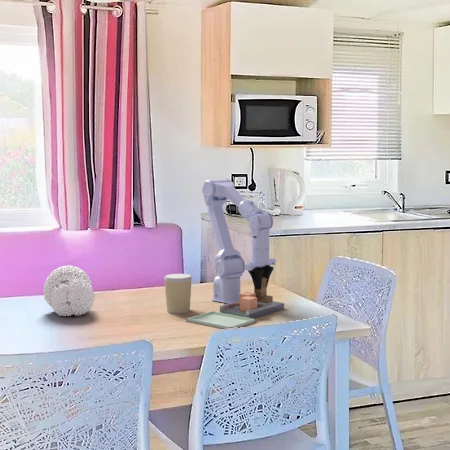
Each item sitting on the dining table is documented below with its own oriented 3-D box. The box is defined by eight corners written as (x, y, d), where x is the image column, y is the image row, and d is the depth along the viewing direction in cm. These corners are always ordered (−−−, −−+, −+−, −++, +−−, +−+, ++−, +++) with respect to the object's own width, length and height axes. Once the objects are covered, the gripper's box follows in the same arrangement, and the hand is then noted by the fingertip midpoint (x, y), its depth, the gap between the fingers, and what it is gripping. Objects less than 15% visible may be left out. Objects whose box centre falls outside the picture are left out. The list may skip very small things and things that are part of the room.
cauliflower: (28, 286, 254) (57, 249, 251) (67, 302, 266) (95, 267, 263) (44, 323, 240) (75, 284, 237) (86, 338, 251) (115, 301, 249)
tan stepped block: (248, 300, 257) (248, 277, 256) (253, 298, 259) (253, 276, 258) (267, 303, 252) (267, 280, 251) (272, 302, 254) (272, 278, 253)
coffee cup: (196, 308, 257) (195, 274, 256) (186, 314, 249) (185, 279, 247) (171, 306, 260) (170, 272, 259) (160, 312, 252) (159, 277, 250)
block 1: (239, 305, 253) (239, 293, 252) (246, 303, 256) (246, 291, 255) (248, 307, 250) (248, 295, 250) (255, 304, 253) (255, 293, 253)
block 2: (240, 310, 246) (240, 298, 246) (247, 307, 249) (247, 296, 249) (249, 311, 244) (249, 299, 243) (257, 309, 247) (257, 297, 246)
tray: (186, 321, 240) (186, 318, 240) (212, 313, 250) (212, 310, 250) (230, 330, 229) (230, 327, 229) (255, 322, 238) (255, 319, 238)
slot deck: (219, 314, 248) (219, 306, 248) (256, 304, 263) (256, 295, 263) (248, 320, 241) (248, 311, 240) (284, 308, 256) (284, 300, 256)
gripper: (257, 252, 245) (257, 293, 247) (282, 247, 256) (282, 286, 258) (240, 250, 249) (240, 290, 251) (266, 245, 260) (266, 283, 262)
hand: (260, 288), depth 255 cm, fingers closed on tan stepped block, 3 cm apart
